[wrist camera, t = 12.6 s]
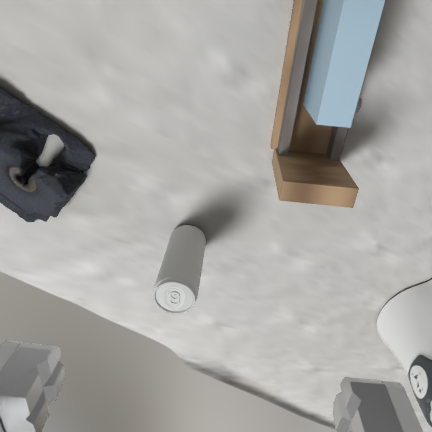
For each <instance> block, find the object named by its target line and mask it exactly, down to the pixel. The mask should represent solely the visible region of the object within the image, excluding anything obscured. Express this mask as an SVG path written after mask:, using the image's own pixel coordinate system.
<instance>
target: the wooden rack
mask: <svg viewBox="0 0 432 432" xmlns="http://www.w3.org/2000/svg"><path fill="white" fill-rule="evenodd" d="M323 1H324V0H294V3H293V9H292V16H291V22H290V28H289V34H288V40H287V47H286V53H285V59H284V65H283V71H282V78H281V84H280V90H279V96H278V102H277V108H276V115H275V121H274V127H273V133H272V139H271V149H274V154H273V160H272V165H273V170H274V175H275V180H276V185H277V190H278V195H279V200H281V201H291V202H301V203H311V204H320V205H330V206H340V207H350V208H353V206H354V203H355V199H356V196H357V193H358V190H359V188H358V187H357V185H356V184H355V182H354V181H353V179H352V178H351V176H350V175H349V173H348V172H347V170H346V169H345V167H344V166H343V164H342V163H341V161H340V160H339V159H340V156H341V154H342V150H343V146H344V142H345V139H346V135H347V131H348V128H347V127H337V126H327V125H317V124H316V123H315V122H314V120H313V119H312V117H311V116H310V114H309V113H308V111H307V110H306V108H305V106H304V105H303V102H304V97H305V92H306V87H307V82H308V77H309V72H310V67H311V62H312V57H313V52H314V47H315V41H316V36H317V31H318V26H319V21H320V16H321V11H322V6H323Z"/></svg>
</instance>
